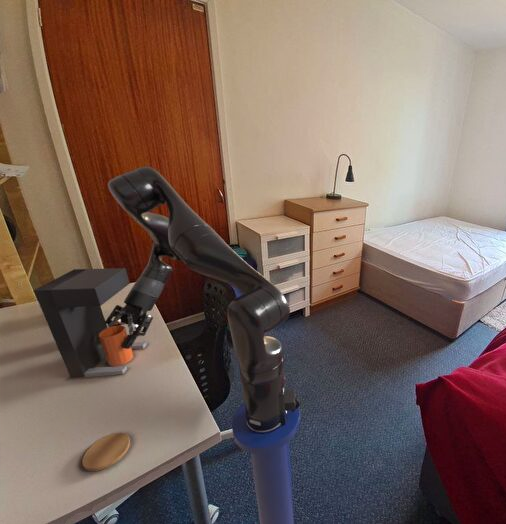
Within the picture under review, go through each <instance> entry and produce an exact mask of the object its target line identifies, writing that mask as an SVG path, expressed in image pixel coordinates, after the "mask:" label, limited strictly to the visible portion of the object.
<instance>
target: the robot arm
mask: <svg viewBox="0 0 506 524" xmlns="http://www.w3.org/2000/svg"><path fill="white" fill-rule="evenodd" d="M107 188H108V190H109V192H110V194H111V195H112V197H113V198H114V201H116V202H117V203H118V205H119V206H120V208H122V209H123V210H124V211H125V212H126V213H127V214H128V215H129V217H130V218H132V219H133V220H134V221H135V223H137V224H138V225H139V226H140V227H141V228H142V229H144V231H145V232H146V233H147V234H148V236H149V237H150V238H151V241H153V243H152V247H151V252H150V256H149V259H148V262H147V264H146V266H145V268H144V269H143V271H142V273H141V274H140V276H139V277H138V278H137V280H135V283H134V284H133V285H132V287H131V289H130V290H129V292H128V294H127V296H126V297H125V299H124V300H123V303H124V304H125V305H124V306H123V305H119V304H117V305H115V306H114V308H113V309H112V311H111V312H110V314H109V315H108V317H107V318H106V319H105V321H106V322H105V323H106V324H107V327H108V328H109V327H113V326H124V325H127V328H128V329H129V330H128V334H127V337H126V339H125V340H124V342H123V344H122V346H121V347H122V348H125V349H129V348H130V347H131V346H132V344H133V343H134V342H136V340H137V338H138V337H140V336H141V337H144V336H145V335H146V334H147V332H148V329H149V328H150V326H151V323H152V322H153V320H154V316H153V315H150V314H147V313H148V312H151V311H152V310H153V308H154V306H155V304H156V303H157V301H158V299H159V298H160V296H161V294H162V293H163V290H164V287H165V286H166V283H167V281H168V279H169V278H170V277H171V275H172V272H173V268H172V266H171V265H169V264H167V263H166V262H165V261H163V257H167V258H169V259H172V260H175V261H182V262H183V264H185V265H186V267H188V268H190V270H192V271H193V272H195V273H197V274H200V275H202V276H204V277H207V278H209V279H213V280H216V281H219V282H223V283H224V284H228V285H230V286H231V287H233V288H235V289H236V290H238V291H239V292H240V293H241V294H242V295H239V296H238V297H236V298H233V299H232V300H231V301H230V302H229V304H228V306H227V310H226V317H227V322H228V323H227V324H228V329H229V332H230V337H231V342H232V347H233V351H234V353H235V356H236V358H237V361H238V367H239V374H240V382H241V389H242V397H243V402H244V405H245V412H246V423H247V426H248V428H249V429H250V430H251V431H253V432H255V433H258V434H265V433H270V432H272V431H274V430H276V429H278V428H279V427H280V426H282V425H286V417H287V410H292V411H293V412H294V411H295V410H296V409H297V408H299V407H301V400H300V399H299V398H298V397H297V395H296V388H287V377H286V374H285V367H284V366H285V364H284V349H283V345H282V343H281V341H280V340H279V339H277V338H276V337H273V336H270V335H267V334H269V333H271V332H272V331H274V330H275V329H277V328H278V327H279V326H281V325H283V323H285V322H286V321H288V319H289V317H290V314H291V309H290V308H291V307H290V304H289V301H288V300H287V298H286V297H285V295H284V294H283V293H282V291H281V290H280V289H279V288H278V287H277V286H276V285H274V284H273V283H272V282H271V281H269V280H268V279H267V278H266V277H265V276H264V275H262V274H261V273H260V272H259V271H257V270H256V269H255V268H254V267H252V266H251V265H250V264H249V263H247V261H246V260H244V259H243V258H242V257H241V256H240V255H239V254H238V253H237V252H236V251H235V250H234V249H232V247H231V246H230V245H228V243H226V241H225V240H224V238H222V236H220V235H219V234H218V233H217V232H216V231H215V230H214V228H212V227H211V225H209V224H208V223H207V222H206V221H205V220H204V219H203V218H202V217H201V216H199V215H198V214H197V212H195V210H193V209H192V208H191V207H190V206H189V204H187V202H186V201H184V199H183V197H181V196H180V194H179V193H178V192H177V191H176V189H174V188H173V186H172V185H171V184H170V183H169V182H168V180H167V179H166V178H165V177H164V176H163V174H161V173H160V172H159V171H158V170H157V169H155V168H154V167H152V166H149V165H144V166H140V167H137V168H135V169H132V170H130V171H128V172H127V171H126V172H125V173H123V174H120V175H117V176H115V177H113V178H112V179H110V180H109V181H108V183H107ZM163 205H166V206H167V212H168V217H167V216H166V215H163V214H159V213H157V212H151V211H153V210H155V209H156V208H159V207H161V206H163ZM295 402H296V403H297V404H296V405H295Z"/></svg>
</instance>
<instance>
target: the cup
mask: <svg viewBox="0 0 506 524" xmlns="http://www.w3.org/2000/svg"><path fill="white" fill-rule="evenodd" d="M127 335H128V331H127V329H126V327H125V326H124V325H121V326H113V327H109V328H107V329H105V330H103V331H101V332H100V333H99V335H98V337H99V340H100V342H101V345H102V348H103V351H104V354H105V357H104V358H105V359H106V362H107V365H108V366H109V367H117V366H124V365H125V364H127V363H129V362H130V361H132V360H133V358H134V352H133V349H132V348H131V347H130V348H129V349H125V348H122V347H121V346H122V344H123V342H124V340H125V339H126V337H127Z"/></svg>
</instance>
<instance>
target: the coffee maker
mask: <svg viewBox="0 0 506 524" xmlns="http://www.w3.org/2000/svg"><path fill="white" fill-rule="evenodd" d="M126 269H127V268H126V267H119V268H118V267H115V268H113V267H112V268H111V267H110V268H76V269H75V268H74V269H72V270H69V271H68V272H66V273H64V274H61V276H58V277H57V278H54V279H53V280H51V281H49V282H47V283H45V284H43V285H41V286H39V287H38V288H36V289H33V293H34V295H35V297H36V300H37V303H38V304H39V307H40V309H41V312H42V314H43V316H44V319H45V321H46V323H47V325H48V329H49V330H50V333H51V336H52V337H53V340H54V342H55V344H56V347H57V350H58V352H59V354H60V356H61V359H62V361H63V364H64V367H65V368H66V370H67V373H68V376H69V377H70V379H75V378H90V377H103V376H104V377H105V376H114V375H117V376H118V375H124V374H125V373H126V371H127V370H128V367H127V365H120V366H105V367H96V366H97V365H98V364H99V363H100V362H101V361H102V360H103V359H104V358H106V357H105V354H104V351H103V348H102V345H101V342H100V340H99V337H98V335H99V333H100V332H101V331H103V330H105V329H107V328H108V324H106V323H105V322H106V319H105V315H104V313H103V310H102V307H101V306H103V305H105V303H107V302H108V301H109V300H110V299H112V298H113V297H115V296H116V295H117V294H118V293H120V291H122V290H124V289H125V288H126V287H128V286H129V285H130V279H129V276H128V272H127V270H126ZM147 345H148V344H147V342H146V341H134V342H133V344H132V346H131V348H132V350H143V349H145V348H146V347H147Z"/></svg>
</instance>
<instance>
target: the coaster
mask: <svg viewBox="0 0 506 524" xmlns="http://www.w3.org/2000/svg"><path fill="white" fill-rule="evenodd" d="M130 446H131V439H130V437H129V435H127V434H126V433H123V432H117V433H116V432H115V433H112V434H108V435H106V436H104V437H102V438H100V439H99V440H97V441H96V442H95V443H93V444H92V445H91V446H90V447H89V448H88V449H87V450H86V452H85V454H84V455H83V457H82V462H81V463H82V466H83V468H84V470H86V471H88V472H98V471H103V470H105V469H107V468H109V467H111V466H112V465H114V464H115V463H117V462H118V461H120V460H121V459H122V458H123V457H124V456H125V455H126V453H128V450H129V448H130Z"/></svg>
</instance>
